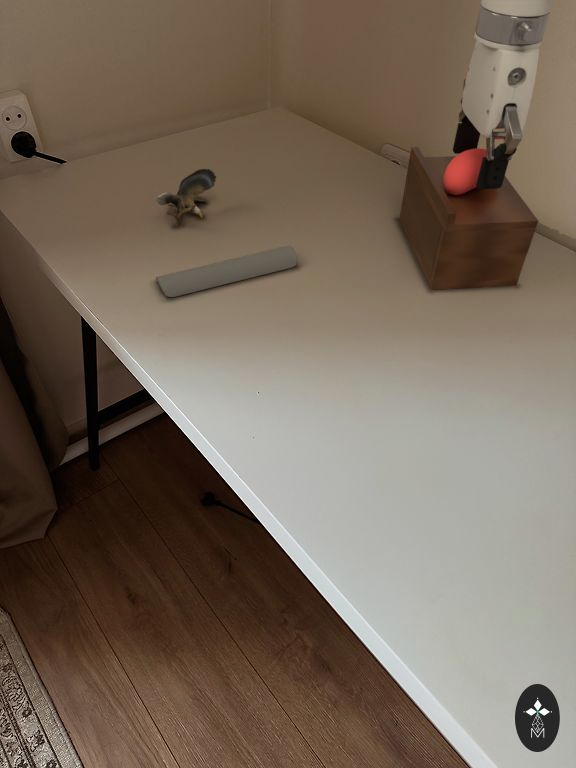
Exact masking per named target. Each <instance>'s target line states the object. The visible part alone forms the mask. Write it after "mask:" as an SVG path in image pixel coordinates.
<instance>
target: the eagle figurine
mask: <svg viewBox="0 0 576 768" xmlns="http://www.w3.org/2000/svg"><path fill="white" fill-rule="evenodd" d="M216 180H217V176H216V174H215V172H214V171H213V170H211V169H210V168H199V169H197V170H195V171H194V172H192V173H190V174H189V175H186V177H184V178H183V179H182V180H181V181H180V183H179V186H178V190H177V193H176V194H172V193H171V192H169V191H167V192H163V193H162V194H159V195H158V196H156V197H155V202H156V203H157V204H158V205H160V206H166V205H167V206H168V207H171V208H172V209H173V211H172V212H167V215H168V216H174V218H175V222H174V223H175V227H177V228H178V226H179V225H180V224H181V223H182V222H183V220H184V217H185V215H186V214H187V213H193V214H194V215H197V216H199V217H200V218H201V219H203V214H202V210H201V209H200V208H199V207H198V206H197V205H196V204H195V202H206V200H205V199H203V198H201V197H197V196H199V195H202V194H204V193H205V192H206V191H209V190H211V189H212V188H213V187H214V186H215V183H216Z"/></svg>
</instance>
